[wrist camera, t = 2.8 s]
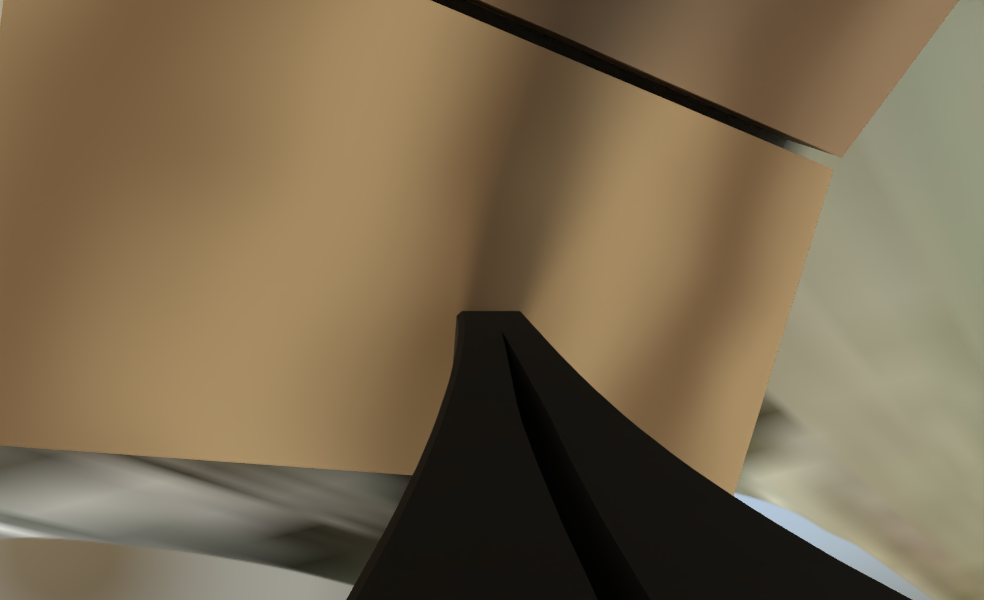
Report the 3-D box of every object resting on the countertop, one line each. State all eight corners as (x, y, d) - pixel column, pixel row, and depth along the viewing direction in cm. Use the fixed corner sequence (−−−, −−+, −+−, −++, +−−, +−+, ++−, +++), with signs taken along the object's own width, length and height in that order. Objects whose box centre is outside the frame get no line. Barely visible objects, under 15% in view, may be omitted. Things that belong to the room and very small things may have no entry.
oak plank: (770, 178, 14) (833, 169, 12) (685, 463, 15) (732, 498, 13) (102, -80, 8) (25, -171, 7) (34, 398, 9) (-52, 441, 7)
